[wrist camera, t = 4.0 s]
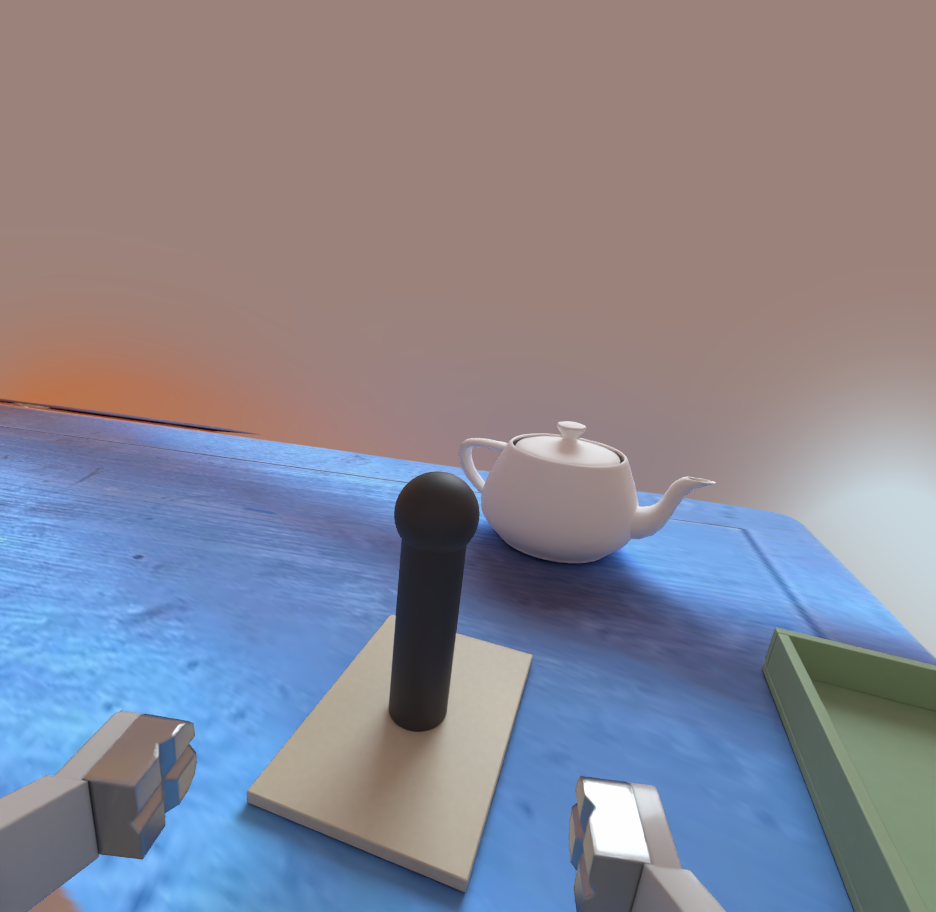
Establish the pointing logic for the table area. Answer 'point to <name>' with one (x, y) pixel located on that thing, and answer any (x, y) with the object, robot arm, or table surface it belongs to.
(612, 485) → the teapot
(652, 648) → the table surface
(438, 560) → the joystick
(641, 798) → the robot arm
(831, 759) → the tray
